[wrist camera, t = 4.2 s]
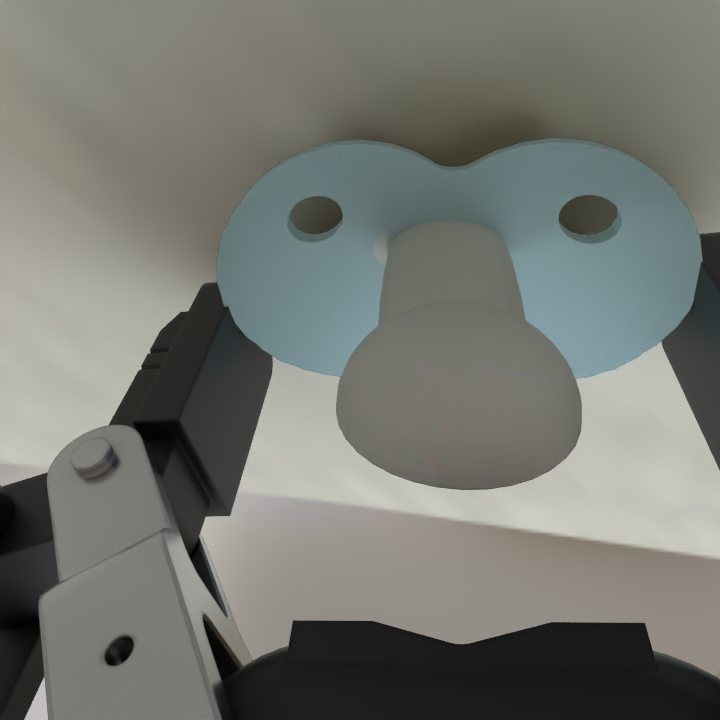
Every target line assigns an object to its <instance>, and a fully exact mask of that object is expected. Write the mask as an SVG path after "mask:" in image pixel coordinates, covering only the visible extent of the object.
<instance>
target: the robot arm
mask: <svg viewBox="0 0 720 720" xmlns="http://www.w3.org/2000/svg"><path fill="white" fill-rule="evenodd" d="M699 236H700V240H701V251H702V258H703V262H702V261H701V265H700V270H699V275H698V280H697V285H696V290H695V294H694V301H693V303H692V306H691V308H690V310H689V312H688V313H687V314H686V316H685V317H684V318H683V319H682V321H681V322H680V323H679V325H678V326H677V327H676V328H675V329H674V330H673V331H672V332H670V333H669V334H668V335H667V336H666V337H665V338H664V339H663V340H662V345H663V348H664V351H665V353H666V355H667V357H668V360H669V362H670V364H671V366H672V368H673V370H674V372H675V375H676V377H677V379H678V381H679V383H680V385H681V388H682V390H683V392H684V394H685V396H686V398H687V401H688V403H689V405H690V407H691V409H692V411H693V413H694V416H695V418H696V420H697V422H698V424H699V426H700V429H701V431H702V433H703V435H704V437H705V439H706V442H707V444H708V446H709V448H710V450H711V452H712V455H713V457H714V459H715V461H716V463H717V465H718V467H719V470H720V232H717V233H707V234H699ZM150 351H151V353H150V354H148V355H147V356H146V358H145V360H144V362H143V364H142V366H141V367H142V370H139V371H138V373H137V375H136V376H135V378H134V380H133V382H132V384H131V386H130V387H129V389H128V391H127V393H126V395H125V396H124V398H123V400H122V402H121V404H120V405H119V407H118V409H117V411H116V413H115V415H114V416H113V418H112V420H111V422H110V424H109V425H108V426H103V427H100V428H97V429H94V430H92V431H89V432H87V433H85V434H83V435H81V436H80V437H78V438H77V439H75V440H73V441H72V442H71V443H70V444H68V445H67V446H66V447H65V448H64V449H63V450H62V451H61V452H60V453H59V454H58V455H57V457H56V458H55V459H54V461H53V462H52V464H51V466H50V468H49V471H48V473H45V474H41V475H38V476H35V477H32V478H29V479H26V480H22V481H19V482H16V483H12V484H9V485H6V486H3V487H2V486H0V720H24V718H25V716H26V714H27V712H28V710H29V708H30V706H31V703H32V701H33V699H34V697H35V695H36V693H37V691H38V688H39V686H40V684H41V682H42V680H43V678H44V677H45V688H46V698H47V710H48V720H720V671H719V674H718V677H716V676H714V675H712V674H710V673H708V672H706V671H704V670H702V669H700V668H698V667H696V666H694V665H692V664H690V663H687V662H685V661H682V660H679V659H677V658H674V657H672V656H669V655H666V654H663V653H659V652H656V651H653V650H652V647H651V643H650V640H649V636H648V632H647V629H646V625H645V623H570V622H568V623H565V622H562V623H561V622H551V623H547V624H543V625H540V626H536V627H532V628H528V629H524V630H520V631H516V632H512V633H509V634H505V635H501V636H497V637H493V638H489V639H485V640H481V641H477V642H474V643H470V644H453V643H449V642H445V641H442V640H438V639H435V638H431V637H427V636H424V635H420V634H417V633H413V632H410V631H406V630H403V629H399V628H395V627H392V626H388V625H385V624H381V623H378V622H374V621H293V624H292V630H291V636H290V642H289V646H287V647H284V648H280V649H278V650H275V651H273V652H270V653H268V654H265V655H263V656H261V657H259V658H257V659H255V660H254V661H253V659H252V657H251V655H250V653H249V651H248V649H247V647H246V645H245V643H244V642H243V639H242V637H241V635H240V633H239V631H238V628H237V625H236V623H235V620H234V618H233V615H232V612H231V610H230V607H229V604H228V602H227V599H226V596H225V594H224V591H223V588H222V586H221V584H220V581H219V578H218V575H217V573H216V570H215V567H214V565H213V562H212V559H211V557H210V554H209V551H208V549H207V546H206V544H205V541H204V539H203V538H202V536H201V534H200V532H201V529H202V526H203V523H204V519H205V517H206V516H230V514H231V511H232V507H233V504H234V501H235V497H236V494H237V490H238V487H239V484H240V480H241V477H242V474H243V470H244V467H245V463H246V460H247V457H248V453H249V450H250V446H251V443H252V440H253V436H254V433H255V430H256V426H257V423H258V419H259V416H260V413H261V409H262V406H263V402H264V399H265V396H266V392H267V389H268V386H269V382H270V379H271V375H272V367H273V360H272V355H270V354H269V353H267V352H266V351H264V350H262V349H261V348H260V347H259V346H258V345H257V344H256V343H255V342H253V341H252V340H250V339H249V338H247V337H246V336H245V334H244V333H243V332H242V331H241V330H240V328H239V327H238V326H237V325H236V324H235V321H234V319H233V317H232V314H231V312H230V310H229V307H228V306H226V307H225V306H224V304H223V301H222V297H221V293H220V289H219V286H218V283H217V282H214V283H205V284H203V285H202V287H201V288H200V290H199V292H198V294H197V296H196V298H195V300H194V302H193V304H192V306H191V308H190V309H189V311H188V312H180V313H179V314H178V315H177V316H176V317H175V318H174V319H173V320H172V321H170V322H169V323H168V324H167V325H166V326H165V327H164V328H163V329H162V330H161V331H160V333H159V335H158V336H157V338H156V340H155V342H154V344H153V346H152V347H151V349H150Z"/></svg>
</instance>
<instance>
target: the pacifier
mask: <svg viewBox="0 0 720 720" xmlns="http://www.w3.org/2000/svg"><path fill="white" fill-rule="evenodd" d="M583 195H596V196H600V197H603V198H606V199H607V200H609V201H610V202H612V203H614V205H615V206H616V207H617V217H616V219H615V220H614V222H613V224H612V225H611V226H609V227H608V228H607V229H606V230H604V231H602V232H600V233H596V234H591V235H584V234H577V233H574V232H571V231H569V230H568V229H566V228H565V227H563V226H562V224H561V223H560V222H559V213H560V211H561V209H562V207H563V206H564V205H565V204H566V203H567V202H568V201H570V200H572V199H573V198H575V197H579V196H583ZM312 196H324V197H328V198H330V199H332V200H334V201H335V202H337V204H338V205H339V206H340V207H341V210H342V214H343V217H342V219H341V221H340V222H339V223H338V224H337V226H336V227H334V228H333V229H331V230H329V231H327V232H324V233H321V234H309V233H304V232H302V231H301V230H299V229H297V228H296V226H295V225H294V224H293V222H292V220H291V217H290V214H291V210H292V209H293V207H294V206H295V205H296V204H297V203H299V202H300V201H302V200H303V199H306V198H309V197H312ZM701 261H702V262H703V258H702V251H701V240H700V236H699V234H698V231H697V228H696V226H695V223H694V220H693V218H692V215H691V213H690V211H689V210H688V209H687V207H686V206H685V204H684V203H683V202H682V200H681V199H680V197H679V196H678V195H677V193H676V192H675V191H674V189H673V188H672V187H671V186H670V185H669V184H668V183H667V182H666V181H665V180H664V179H663V178H662V177H661V176H660V175H659V174H657V173H656V172H655V171H653V170H652V169H651V168H649V167H648V166H647V165H645V164H644V163H642V162H641V161H639V160H637V159H636V158H634V157H632V156H630V155H628V154H626V153H624V152H622V151H619V150H617V149H614V148H612V147H609V146H606V145H603V144H599V143H596V142H593V141H586V140H577V139H562V138H550V139H542V140H535V141H527V142H522V143H518V144H515V145H512V146H509V147H505V148H502V149H499V150H496V151H493V152H491V153H489V154H488V155H486V156H484V157H482V158H480V159H478V160H476V161H474V162H472V163H471V164H468V165H464V166H458V167H447V166H441V165H438V164H436V163H434V162H433V161H431V160H429V159H428V158H426V157H424V156H422V155H421V154H419V153H417V152H415V151H412V150H410V149H407V148H404V147H400V146H397V145H394V144H391V143H385V142H378V141H370V140H361V139H360V140H346V141H335V142H328V143H325V144H322V145H318V146H315V147H312V148H309V149H307V150H304V151H301V152H299V153H297V154H295V155H293V156H291V157H289V158H287V159H286V160H284V161H282V162H281V163H279V164H278V165H276V166H275V167H274V168H272V169H271V170H270V171H268V172H267V173H266V174H265V175H263V176H262V177H261V178H260V179H259V180H257V182H256V183H255V184H254V185H253V186H252V187H251V189H250V190H249V191H248V192H247V194H246V195H245V196H244V198H243V199H242V200H241V202H240V203H239V204H238V206H237V207H236V209H235V210H234V212H233V213H232V215H231V217H230V219H229V221H228V224H227V226H226V228H225V230H224V232H223V235H222V237H221V241H220V247H219V252H218V256H217V283H218V286H219V289H220V293H221V297H222V301H223V304H224V306H225V307H226V306H228V307H229V310H230V312H231V314H232V317H233V319H234V321H235V324H236V325H237V326H238V327H239V328H240V330H241V331H242V332H243V333H244V334H245V336H246V337H247V338H249V339H250V340H252V341H253V342H255V343H256V344H257V345H258V346H259V347H260V348H261V349H262V350H264V351H266V352H267V353H269V354H270V355H272V356H273V357H275V358H276V359H278V360H280V361H281V362H285V363H288V364H291V365H294V366H297V367H299V368H301V369H304V370H308V371H312V372H317V373H321V374H327V375H333V376H339V377H341V378H340V382H339V386H338V393H337V403H336V414H337V419H338V424H339V427H340V429H341V431H342V433H343V435H344V436H345V438H346V440H347V441H348V442H349V443H350V444H351V445H352V446H353V448H354V449H355V450H356V451H357V452H358V453H359V454H360V455H362V456H363V457H364V458H366V459H367V460H368V461H370V462H371V463H372V464H374V465H376V466H378V467H379V468H381V469H383V470H385V471H387V472H389V473H391V474H393V475H396V476H398V477H401V478H404V479H407V480H409V481H412V482H416V483H420V484H425V485H429V486H434V487H439V488H449V489H459V490H479V489H493V488H500V487H506V486H512V485H516V484H519V483H522V482H525V481H529V480H532V479H534V478H536V477H538V476H540V475H542V474H544V473H546V472H548V471H550V470H552V469H553V468H554V467H556V466H557V465H558V464H559V463H561V462H562V461H563V460H564V459H566V458H567V456H568V455H569V454H570V453H571V451H572V450H573V449H574V447H575V446H576V443H577V441H578V438H579V435H580V432H581V424H582V404H581V397H580V393H579V389H578V386H577V383H576V380H575V379H577V378H586V377H590V376H593V375H596V374H599V373H602V372H606V371H610V370H614V369H616V368H618V367H620V366H622V365H624V364H626V363H627V362H629V361H631V360H633V359H635V358H637V357H638V356H639V355H641V354H642V353H644V352H645V351H647V350H649V349H651V348H652V347H654V346H656V345H657V344H659V343H660V342H661V341H662V340H663V339H664V338H665V337H666V336H667V335H668V334H669V333H670V332H672V331H673V330H674V329H675V328H676V327H677V326H678V325H679V323H680V322H681V321H682V319H683V318H684V317H685V316H686V314H687V313H688V312H689V310H690V308H691V306H692V303H693V301H694V294H695V290H696V285H697V280H698V275H699V270H700V265H701Z"/></svg>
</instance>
